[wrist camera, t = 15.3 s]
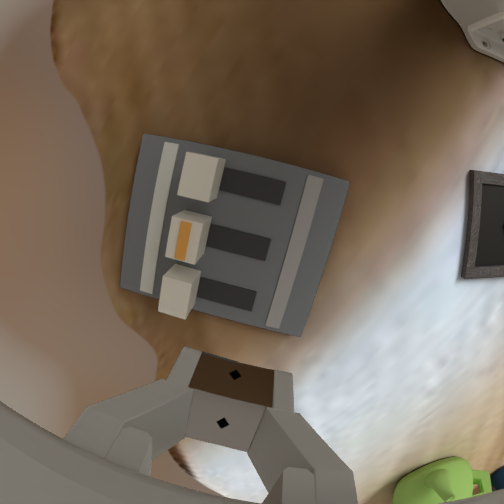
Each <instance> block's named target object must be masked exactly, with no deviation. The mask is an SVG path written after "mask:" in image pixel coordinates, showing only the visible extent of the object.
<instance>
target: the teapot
mask: <svg viewBox="0 0 504 504" xmlns="http://www.w3.org/2000/svg"><path fill="white" fill-rule="evenodd" d="M473 484H479V489H480V493H479V494H476V495H472V492H473ZM490 492H492V487H491V480H490V473H489V471H480V470H471V466H470V464H469V462H468V461H467V460H465V459H463V458H460V457H456V456H455V457H449V458H445V459H441V460H438V461H435V462H433V463H430V464H428V465H425V466H423V467H421V468H419V469H417V470H415V471H413V472H411V473H410V474H408V475H406V476H405V477H403V478H402V479H401V480H400V481H399V482H398V484H397V486H396V488H395V491H394V494H393V499H392V503H393V504H437V503H444V502H449V501H455V500H460V499H465V498H469V497H474V496H478V495H482V494H486V493H490Z"/></svg>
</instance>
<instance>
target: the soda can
mask: <svg viewBox="0 0 504 504" xmlns="http://www.w3.org/2000/svg"><path fill="white" fill-rule="evenodd" d="M490 480H491V487H492V492H494V491H497V490H501V489H504V466H502V467H500V468H498V469H497V470H495V471H494V472H493V473H492V474H491V475H490Z"/></svg>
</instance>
